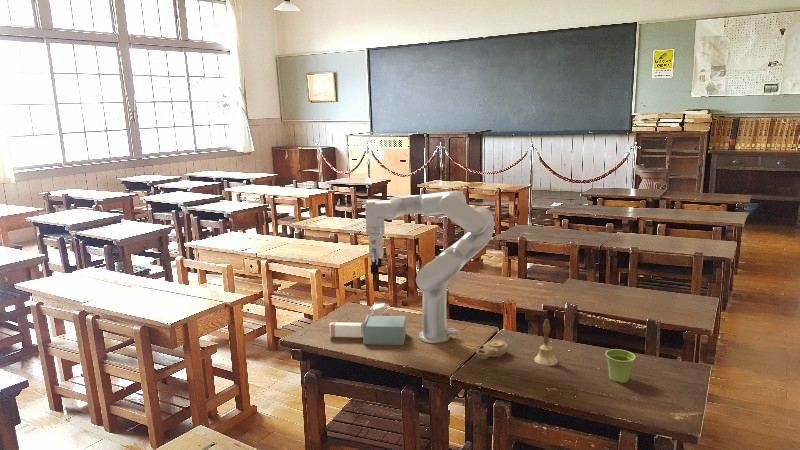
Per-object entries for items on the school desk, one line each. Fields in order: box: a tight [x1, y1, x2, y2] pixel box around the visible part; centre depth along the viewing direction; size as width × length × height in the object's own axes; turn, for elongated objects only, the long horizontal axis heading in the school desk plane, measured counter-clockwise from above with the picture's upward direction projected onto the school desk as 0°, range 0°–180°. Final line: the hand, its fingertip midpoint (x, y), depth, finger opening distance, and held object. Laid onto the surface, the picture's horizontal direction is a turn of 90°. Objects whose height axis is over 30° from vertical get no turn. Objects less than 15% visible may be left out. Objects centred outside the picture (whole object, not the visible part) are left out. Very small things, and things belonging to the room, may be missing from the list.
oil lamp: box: [475, 339, 509, 359], centre depth 206 cm, size 11×14×5 cm
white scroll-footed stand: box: [369, 302, 389, 316], centre depth 249 cm, size 12×8×5 cm
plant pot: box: [604, 348, 636, 384], centre depth 186 cm, size 9×9×9 cm
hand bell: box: [533, 318, 558, 367], centre depth 200 cm, size 8×8×16 cm
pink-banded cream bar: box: [328, 321, 363, 338], centre depth 225 cm, size 13×3×5 cm, turn 85°
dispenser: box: [362, 313, 407, 346], centre depth 224 cm, size 16×12×8 cm
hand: (376, 270), depth 228 cm, fingers open, 9 cm apart
